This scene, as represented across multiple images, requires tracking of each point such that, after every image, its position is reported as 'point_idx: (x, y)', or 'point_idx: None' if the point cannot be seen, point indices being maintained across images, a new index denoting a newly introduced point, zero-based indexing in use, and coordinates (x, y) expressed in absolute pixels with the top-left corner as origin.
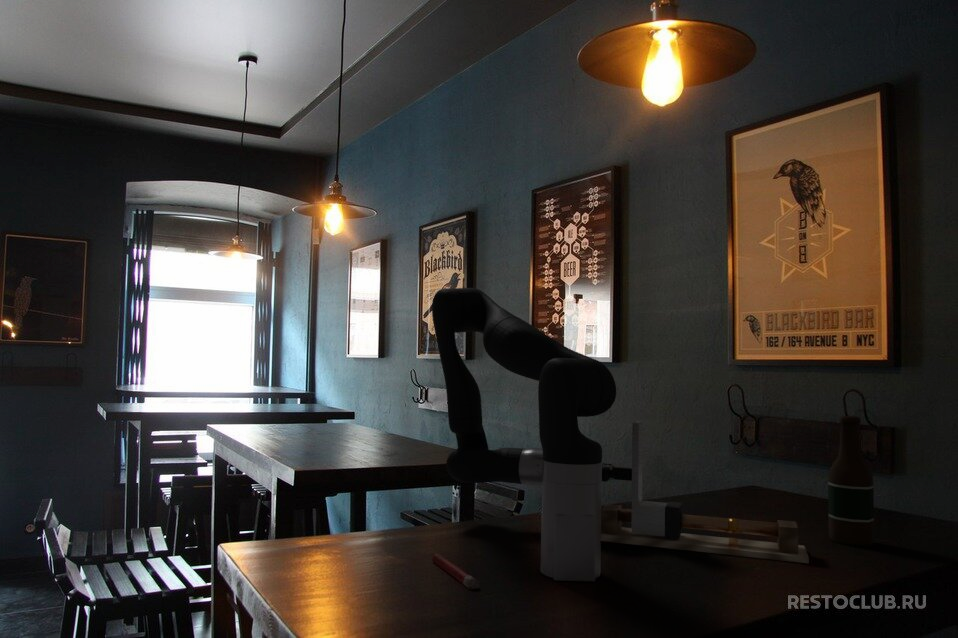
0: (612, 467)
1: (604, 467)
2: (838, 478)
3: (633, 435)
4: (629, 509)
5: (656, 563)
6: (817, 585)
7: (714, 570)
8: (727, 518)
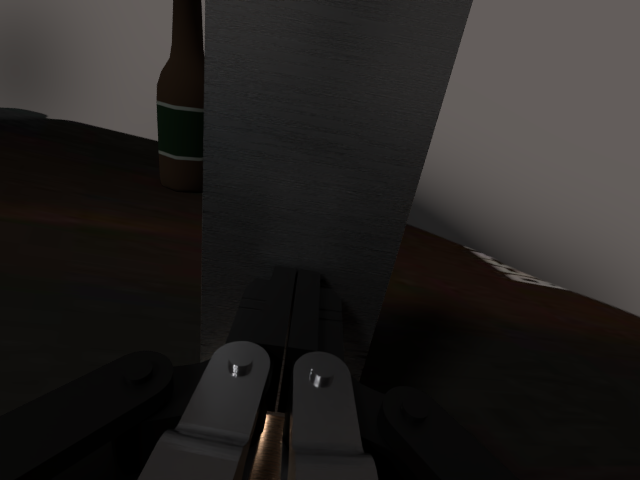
0: (337, 358)
1: (429, 414)
2: (203, 98)
3: (456, 49)
4: (271, 439)
5: (519, 424)
6: (443, 251)
7: (472, 330)
8: None
